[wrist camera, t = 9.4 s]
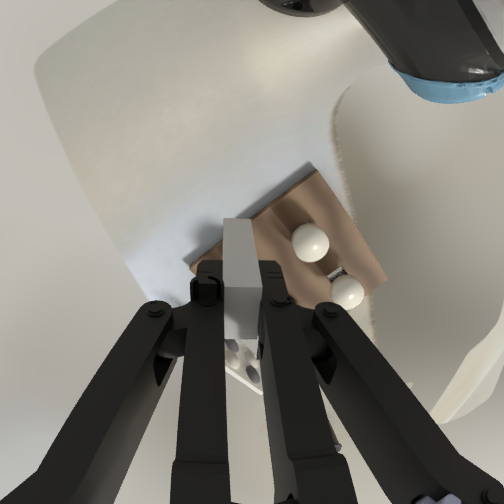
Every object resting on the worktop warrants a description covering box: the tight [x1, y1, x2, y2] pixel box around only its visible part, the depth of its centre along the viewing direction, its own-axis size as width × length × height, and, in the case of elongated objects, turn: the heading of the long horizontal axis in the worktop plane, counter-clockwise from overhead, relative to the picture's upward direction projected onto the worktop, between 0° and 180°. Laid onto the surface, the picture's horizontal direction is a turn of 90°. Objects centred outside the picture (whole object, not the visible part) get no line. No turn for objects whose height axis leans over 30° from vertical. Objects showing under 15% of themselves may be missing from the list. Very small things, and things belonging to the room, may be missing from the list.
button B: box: [329, 275, 364, 310], centre depth 49 cm, size 5×5×4 cm
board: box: [189, 169, 388, 309], centre depth 52 cm, size 24×24×1 cm
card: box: [225, 339, 263, 395], centre depth 55 cm, size 4×12×9 cm, turn 38°
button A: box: [291, 223, 329, 262], centre depth 47 cm, size 5×5×4 cm
